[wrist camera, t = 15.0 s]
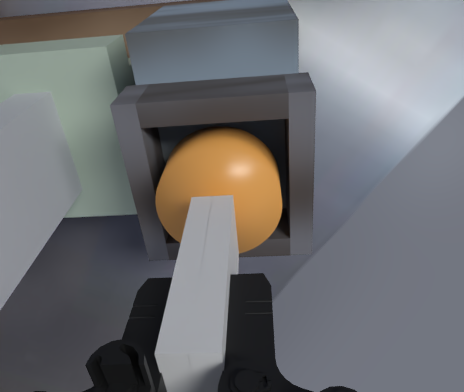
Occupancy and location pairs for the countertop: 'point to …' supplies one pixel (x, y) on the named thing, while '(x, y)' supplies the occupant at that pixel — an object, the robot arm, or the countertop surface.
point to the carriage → (58, 143)
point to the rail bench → (203, 96)
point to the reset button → (222, 182)
